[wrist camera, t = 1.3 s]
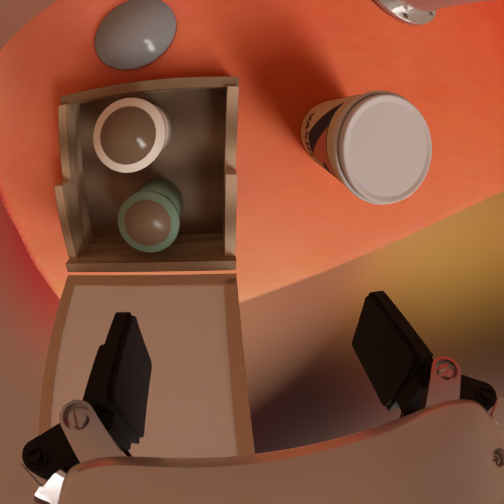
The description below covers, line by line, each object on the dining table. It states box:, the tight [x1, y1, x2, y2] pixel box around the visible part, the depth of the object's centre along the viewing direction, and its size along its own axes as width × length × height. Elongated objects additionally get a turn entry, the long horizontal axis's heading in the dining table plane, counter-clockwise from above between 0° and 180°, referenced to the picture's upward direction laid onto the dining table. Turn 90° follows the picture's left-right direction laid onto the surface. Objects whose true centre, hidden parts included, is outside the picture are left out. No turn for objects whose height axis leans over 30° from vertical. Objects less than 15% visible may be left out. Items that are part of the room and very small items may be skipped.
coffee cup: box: [301, 91, 432, 204], centre depth 23 cm, size 9×9×12 cm
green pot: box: [118, 179, 183, 252], centre depth 26 cm, size 6×6×6 cm
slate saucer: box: [95, 0, 177, 70], centre depth 20 cm, size 9×9×1 cm
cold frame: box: [54, 77, 239, 272], centre depth 24 cm, size 18×18×7 cm
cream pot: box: [93, 98, 174, 173], centre depth 22 cm, size 6×6×7 cm
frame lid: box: [39, 274, 255, 458], centre depth 20 cm, size 19×18×1 cm
